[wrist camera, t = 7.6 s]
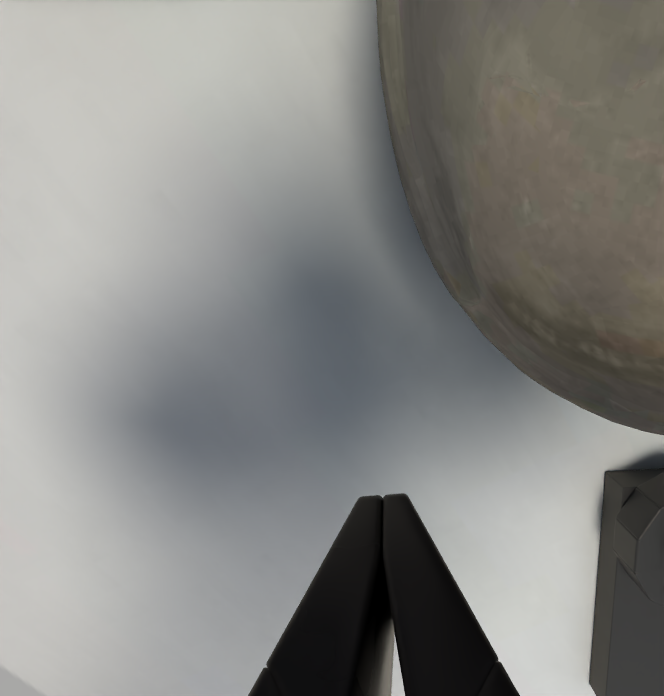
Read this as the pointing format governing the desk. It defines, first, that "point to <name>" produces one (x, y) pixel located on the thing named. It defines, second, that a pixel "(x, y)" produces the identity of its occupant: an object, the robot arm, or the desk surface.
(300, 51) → the desk surface
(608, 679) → the scale
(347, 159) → the desk surface
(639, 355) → the bowl
